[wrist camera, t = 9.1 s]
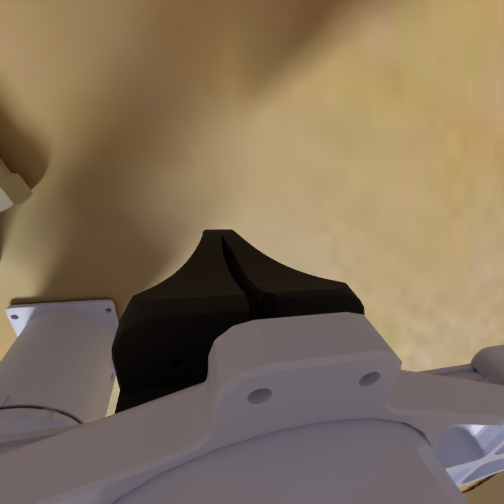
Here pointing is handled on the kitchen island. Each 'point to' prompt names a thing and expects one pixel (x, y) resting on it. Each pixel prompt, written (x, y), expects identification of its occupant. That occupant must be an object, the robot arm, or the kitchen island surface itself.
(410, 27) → the kitchen island surface
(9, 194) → the pipe fitting
